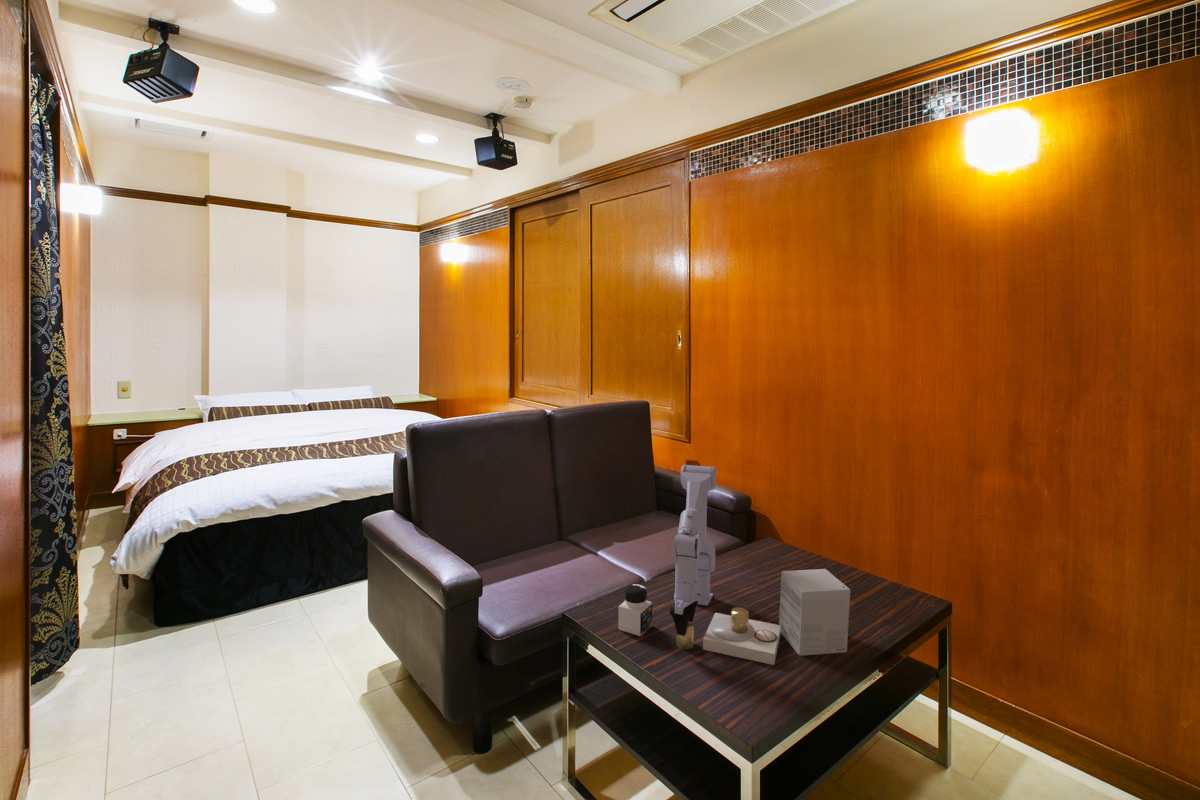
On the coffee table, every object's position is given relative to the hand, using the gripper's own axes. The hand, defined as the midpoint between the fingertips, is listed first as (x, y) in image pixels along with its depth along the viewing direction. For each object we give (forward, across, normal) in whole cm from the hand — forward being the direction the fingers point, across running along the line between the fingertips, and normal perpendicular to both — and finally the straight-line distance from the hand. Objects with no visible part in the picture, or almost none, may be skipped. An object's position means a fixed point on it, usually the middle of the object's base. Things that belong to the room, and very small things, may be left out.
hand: (685, 627), depth 155 cm
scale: (+5, +7, -14) cm, 16 cm away
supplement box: (+5, +15, -31) cm, 35 cm away
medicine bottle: (+5, +3, +15) cm, 16 cm away
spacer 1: (+5, 0, 0) cm, 5 cm away
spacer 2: (+1, +7, -13) cm, 15 cm away
